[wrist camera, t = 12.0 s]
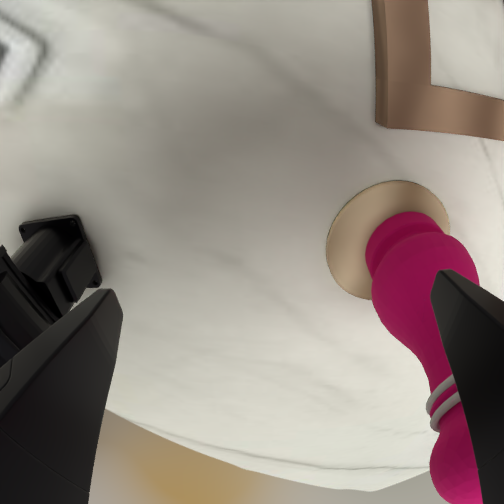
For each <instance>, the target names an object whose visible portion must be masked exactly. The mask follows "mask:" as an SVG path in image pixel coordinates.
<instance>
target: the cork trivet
mask: <svg viewBox="0 0 504 504" xmlns="http://www.w3.org/2000/svg"><path fill="white" fill-rule="evenodd" d="M403 212H420V213H423V214H426V215H427V216H429V217H431V218H432V219H433V220H434V221H435V222H436V223H437V225H438V226H439V227H440V228H441V229H442V231H443V232H444V233H445V234H447V235H449V234H450V226H449V219H448V215H447V213H446V210H445V208H444V206H443V205H442V203H441V202H440V200H439V199H438V198H437V197H436V196H435V195H434V194H433V193H431V192H430V191H429V190H428V189H426V188H425V187H423V186H421V185H418V184H416V183H413V182H408V181H389V182H384V183H380V184H377V185H374V186H372V187H370V188H368V189H366V190H364V191H362V192H361V193H359V194H358V195H356V196H355V197H354V198H353V199H351V200H350V201H349V202H348V203H347V204H346V205H345V206H344V207H343V209H342V210H341V211H340V213H339V214H338V215H337V217H336V219H335V220H334V222H333V224H332V226H331V229H330V231H329V235H328V238H327V245H326V256H327V262H328V265H329V268H330V271H331V274H332V276H333V278H334V280H335V281H336V282H337V284H338V285H339V286H340V287H341V288H342V289H343V290H345V291H346V292H348V293H349V294H352V295H354V296H356V297H359V298H363V299H368V300H372V295H371V287H372V281H373V280H372V278H371V275H370V273H369V270H368V267H367V265H366V261H365V251H366V246H367V243H368V241H369V238H370V237H371V235H372V234H373V232H374V231H375V229H376V228H377V227H378V226H379V225H380V224H381V223H383V222H384V221H385V220H386V219H388V218H390V217H392V216H394V215H396V214H399V213H403Z"/></svg>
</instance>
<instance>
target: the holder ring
mask: <svg viewBox="0 0 504 504" xmlns="http://www.w3.org/2000/svg"><path fill="white" fill-rule="evenodd" d="M372 8H373V22H374V38H375V65H376V117H375V122H377V123H379V124H380V125H382V126H384V127H386V128H391V129H407V130H421V131H432V132H442V133H451V134H460V135H468V136H475V137H482V138H488V139H495V140H501V141H504V100H501V99H497V98H493V97H489V96H485V95H481V94H476V93H472V92H467V91H462V90H457V89H452V88H446V87H441V86H434V85H431V46H430V25H429V11H428V0H372Z"/></svg>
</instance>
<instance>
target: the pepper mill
mask: <svg viewBox="0 0 504 504" xmlns="http://www.w3.org/2000/svg"><path fill="white" fill-rule="evenodd" d="M365 261H366V265H367V267H368V270H369V273H370V275H371V278H372V280H373V281H372V287H371V295H372V302H373V305H374V308H375V310H376V312H377V314H378V316H379V318H380V320H381V322H382V323H383V325H384V326H385V327H386V328H387V330H388V331H389V332H390V333H391V334H392V335H393V336H394V337H395V338H396V339H398V340H399V341H400V342H401V343H402V344H404V345H405V346H406V347H407V348H409V349H410V350H411V351H412V352H413V353H414V354H415V355H416V356H417V358H418V359H419V361H420V362H421V363H422V365H423V368H424V370H425V373H426V375H427V377H428V380H429V386H430V391H431V395H430V397H429V398H428V401H427V403H426V411H427V413H428V414H429V415H430V417H431V421H430V426H431V428H432V429H433V430H434V431H436V432H439V433H440V434H439V437H438V439H437V441H436V443H435V445H434V447H433V450H432V454H431V457H430V474H431V477H432V481H433V484H434V486H435V488H436V490H437V492H438V493H439V495H440V496H441V497H442V498H444V499H445V500H446V501H447V502H449V503H451V504H483V501H482V494H481V488H480V482H479V476H478V469H477V465H476V460H475V455H474V451H473V446H472V442H471V438H470V433H469V429H468V425H467V422H466V418H465V414H464V410H463V407H462V403H461V400H460V396H459V393H458V390H457V387H456V383H455V380H454V377H453V374H452V371H451V368H450V365H449V362H448V359H447V356H446V353H445V350H444V347H443V344H442V341H441V337H440V333H439V329H438V326H437V322H436V318H435V315H434V311H433V308H432V304H431V300H430V293H431V289H432V286H433V283H434V280H435V276H436V274H437V272H438V271H439V270H443V269H452V270H454V271H455V272H457V273H459V274H460V275H462V276H464V277H465V278H467V279H469V280H470V281H472V282H474V283H475V284H477V285H478V286H480V285H479V278H478V274H477V271H476V267H475V265H474V262H473V260H472V258H471V256H470V255H469V253H468V251H467V250H466V248H465V247H464V246H463V245H462V243H460V242H459V241H458V240H457V239H455V238H454V237H452V236H450V235H447V234H445V233H444V232H443V231H442V229H441V228H440V227H439V226H438V225H437V223H436V222H435V221H434V220H433V219H432V218H431V217H429V216H427V215H426V214H423V213H420V212H403V213H399V214H396V215H394V216H392V217H390V218H388V219H386V220H385V221H384V222H383V223H381V224H380V225H379V226H378V227H377V228H376V229H375V231H374V232H373V234H372V235H371V237H370V238H369V241H368V243H367V246H366V251H365Z"/></svg>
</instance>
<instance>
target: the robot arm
mask: <svg viewBox="0 0 504 504" xmlns="http://www.w3.org/2000/svg"><path fill="white" fill-rule="evenodd" d="M72 221H74V222H75V224H74V223H73V222H72ZM24 229H25V230H24ZM19 231H20V234H21V236H22V239H23V241H24V244H23V245H22V246H21V247H20V248H19V249H18V250H17V251H16V252H15V253H14V255H13V256H12V257H11V258H10V257H9V255H8V254H7V252H6V251H7V250H6V249H5V247H4V246H3V245H1V246H0V504H88V501H89V492H90V485H91V478H92V472H93V466H94V460H95V454H96V449H97V444H98V439H99V434H100V428H101V424H102V419H103V415H104V410H105V405H106V401H107V397H108V393H109V388H110V384H111V380H112V376H113V372H114V368H115V363H116V358H117V351H118V345H119V338H120V332H121V326H122V321H123V312H122V309H121V306H120V304H119V302H118V299H117V297H116V294H115V292H114V291H113V290H112V289H98V290H97V291H96V292H94V293H93V294H92V295H90V296H89V297H88V298H86V299H85V300H84V301H82V302H81V303H80V304H79V305H77V306H76V307H75V308H73V309H72V310H71V311H70V309H71V307H72V306H73V304H74V303H77V302H78V301H79V299H80V297H81V295H82V294H83V292H84V290H85V289H86V288H97V287H99V286H100V285H101V283H102V279H101V277H100V274H99V272H98V269H97V265H96V263H95V260H94V257H93V255H92V252H91V249H90V246H89V243H88V242H87V239H86V236H85V233H84V231H83V228H82V225H81V221H80V219H79V218H78V217H77V216H76V215H70V216H63V217H56V218H50V219H43V220H37V221H30V222H24V223H22V224H21V225H20V226H19ZM95 281H97V282H95ZM430 300H431V304H432V308H433V311H434V315H435V318H436V322H437V326H438V329H439V333H440V337H441V341H442V344H443V347H444V350H445V353H446V356H447V359H448V362H449V365H450V368H451V371H452V374H453V377H454V380H455V383H456V387H457V390H458V393H459V396H460V400H461V403H462V407H463V410H464V414H465V418H466V422H467V425H468V429H469V433H470V438H471V442H472V446H473V451H474V455H475V460H476V465H477V469H478V476H479V482H480V488H481V494H482V501H483V504H504V301H502V300H501V299H499V298H497V297H496V296H494V295H493V294H491V293H490V292H488V291H486V290H485V289H483V288H482V287H480V286H478V285H477V284H475V283H474V282H472V281H470V280H469V279H467V278H465V277H464V276H462V275H460V274H459V273H457V272H455V271H454V270H452V269H443V270H439V271H438V272H437V274H436V276H435V280H434V283H433V286H432V289H431V293H430ZM69 311H70V312H69Z"/></svg>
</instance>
